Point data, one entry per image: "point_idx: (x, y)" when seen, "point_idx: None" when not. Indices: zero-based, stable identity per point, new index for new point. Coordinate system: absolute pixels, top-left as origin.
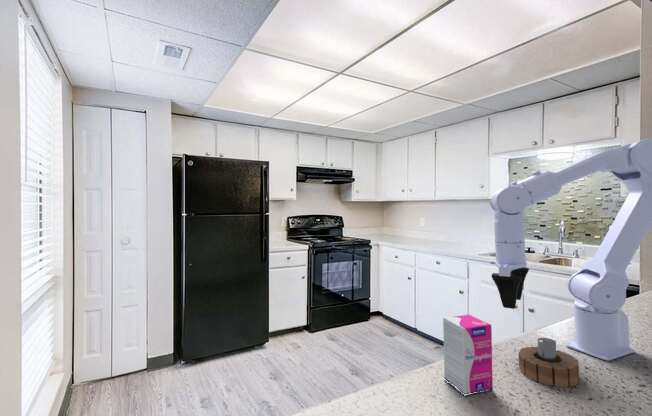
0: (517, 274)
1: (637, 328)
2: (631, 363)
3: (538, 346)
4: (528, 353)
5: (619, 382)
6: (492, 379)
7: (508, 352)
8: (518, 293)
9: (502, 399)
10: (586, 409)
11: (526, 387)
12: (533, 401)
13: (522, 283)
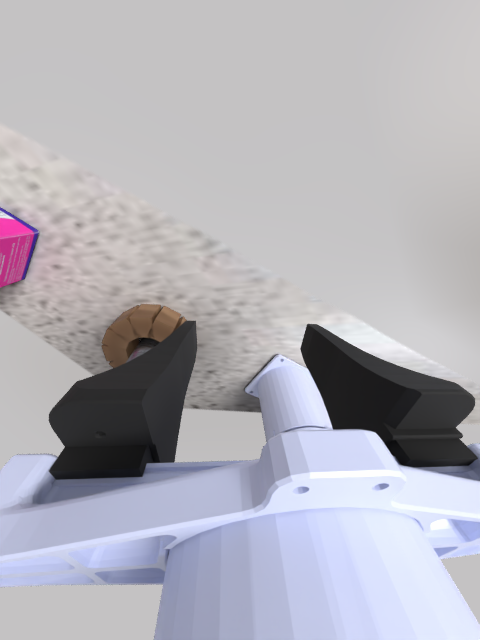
0: (351, 428)
1: None
2: (253, 403)
3: (132, 356)
4: (141, 331)
5: (188, 394)
6: (5, 285)
7: (203, 280)
8: (309, 360)
9: (14, 294)
10: (90, 371)
11: (85, 318)
12: (53, 328)
13: (324, 402)
